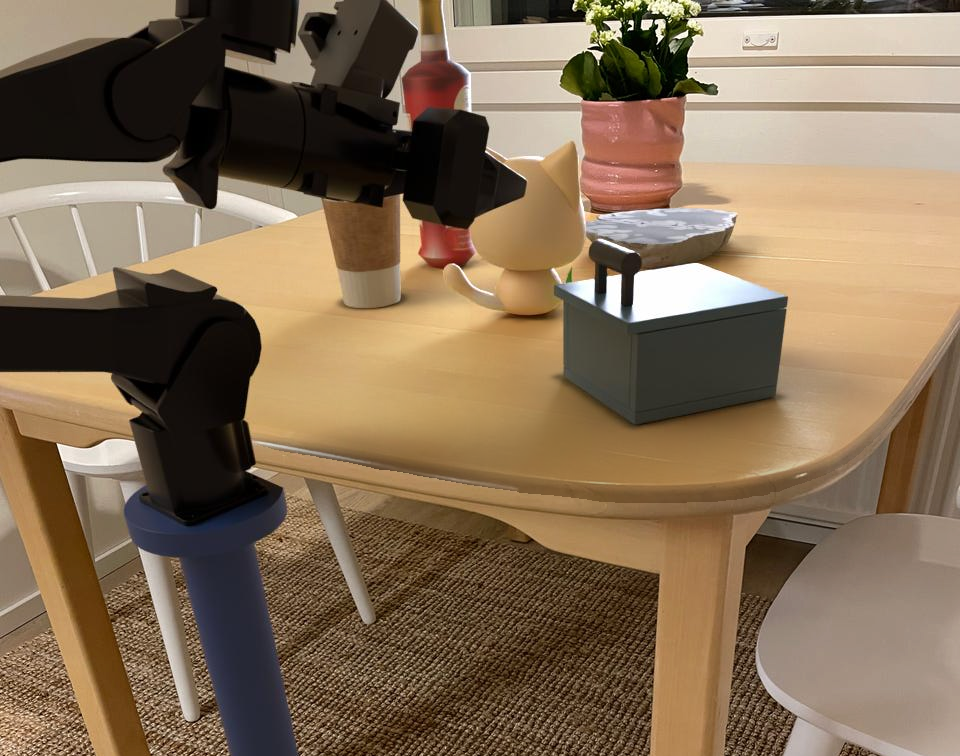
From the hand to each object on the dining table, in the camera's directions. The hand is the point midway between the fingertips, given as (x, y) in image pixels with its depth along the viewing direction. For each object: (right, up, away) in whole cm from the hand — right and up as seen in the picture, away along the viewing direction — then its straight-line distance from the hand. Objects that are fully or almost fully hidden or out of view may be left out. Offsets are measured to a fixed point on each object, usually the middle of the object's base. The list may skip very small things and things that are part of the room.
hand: (483, 181), depth 67 cm
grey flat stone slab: (+20, +13, +44) cm, 50 cm away
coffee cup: (-11, +3, +32) cm, 34 cm away
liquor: (-4, +11, +44) cm, 45 cm away
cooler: (+14, -13, +6) cm, 20 cm away
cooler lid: (+13, -8, +3) cm, 16 cm away
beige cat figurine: (+5, -1, +25) cm, 26 cm away
